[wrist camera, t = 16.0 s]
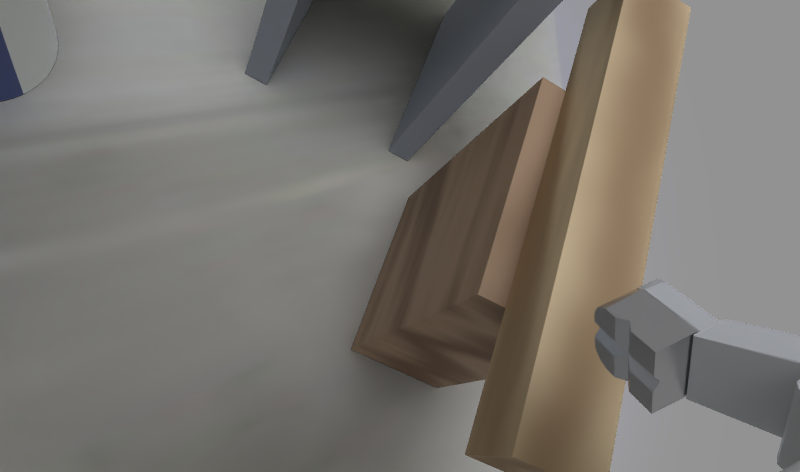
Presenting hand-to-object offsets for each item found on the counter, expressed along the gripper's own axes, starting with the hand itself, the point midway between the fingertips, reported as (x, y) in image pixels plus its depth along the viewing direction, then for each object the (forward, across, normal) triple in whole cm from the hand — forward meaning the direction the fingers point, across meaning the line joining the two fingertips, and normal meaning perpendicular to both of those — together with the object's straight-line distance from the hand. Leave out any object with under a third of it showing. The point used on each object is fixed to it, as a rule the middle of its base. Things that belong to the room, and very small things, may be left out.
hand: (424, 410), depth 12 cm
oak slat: (+10, -11, +6) cm, 16 cm away
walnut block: (+21, -7, +16) cm, 28 cm away
